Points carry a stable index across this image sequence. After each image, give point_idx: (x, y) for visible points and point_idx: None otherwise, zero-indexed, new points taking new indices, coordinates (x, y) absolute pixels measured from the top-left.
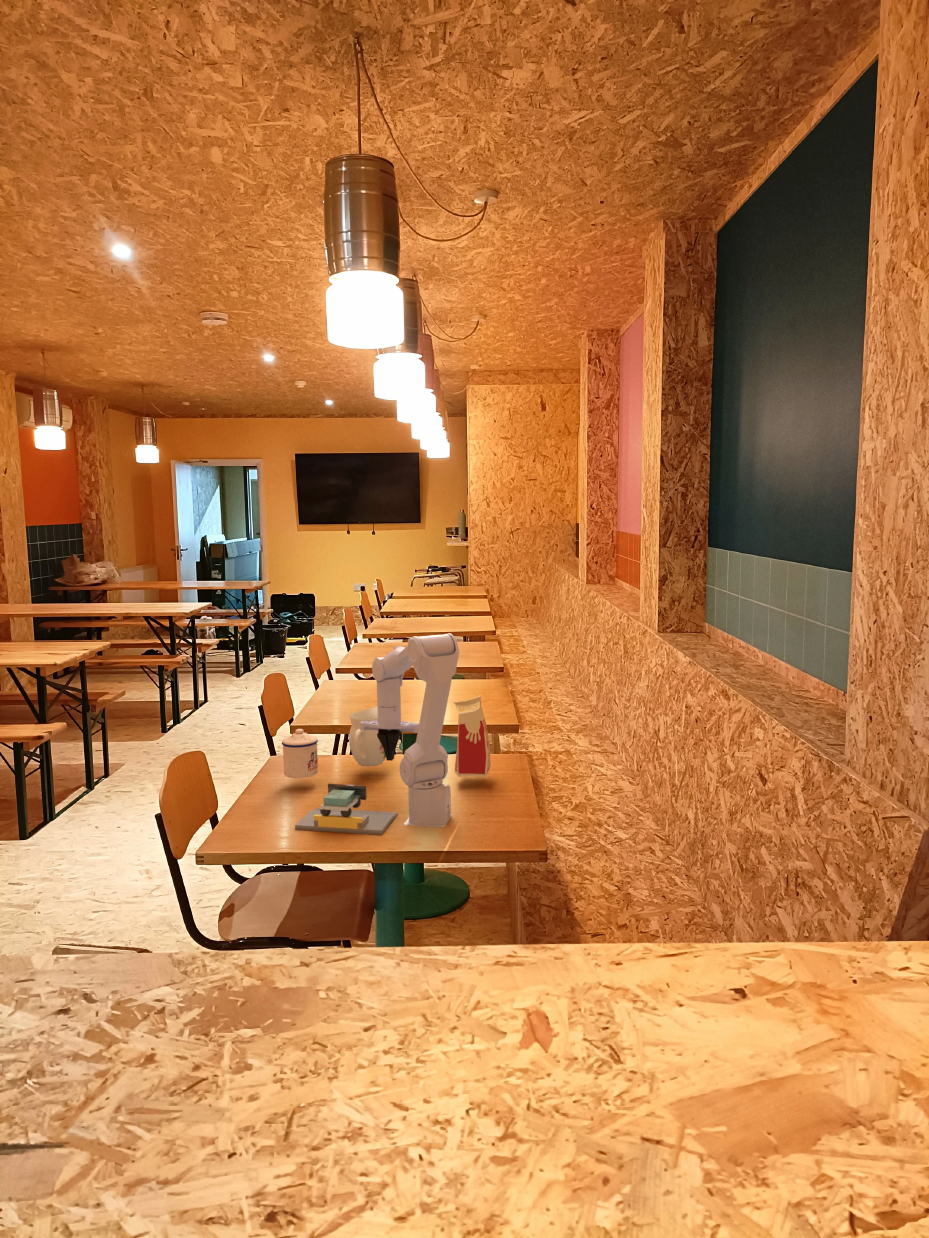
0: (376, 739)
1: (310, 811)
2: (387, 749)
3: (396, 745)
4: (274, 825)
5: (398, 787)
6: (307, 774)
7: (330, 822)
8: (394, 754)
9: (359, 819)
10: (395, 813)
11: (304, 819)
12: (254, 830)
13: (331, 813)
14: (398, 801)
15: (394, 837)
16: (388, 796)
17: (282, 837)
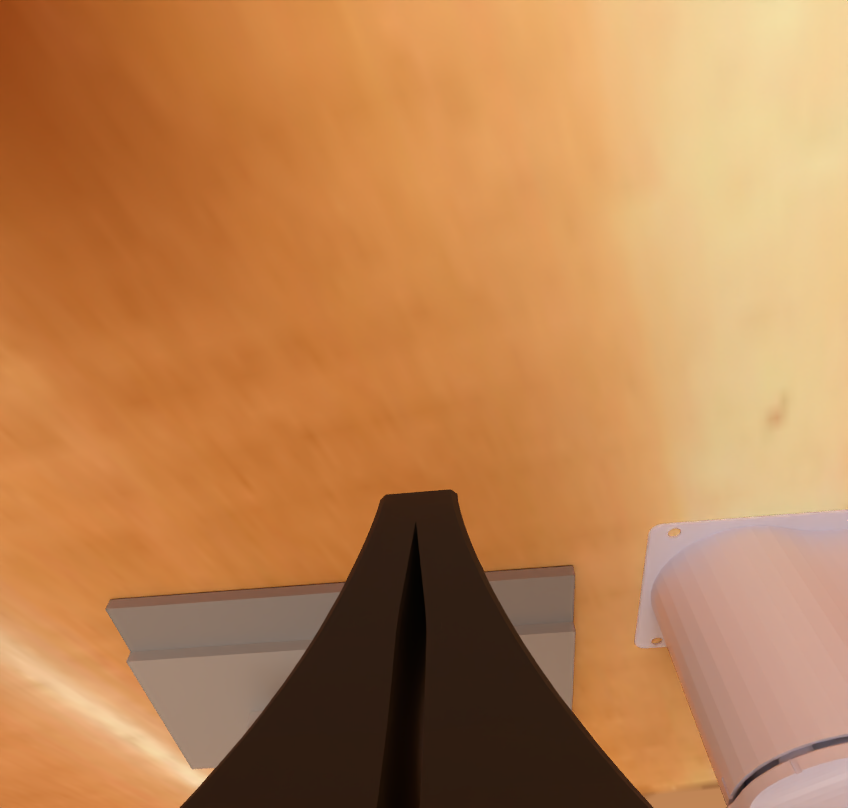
0: None
1: (137, 672)
2: (423, 733)
3: (507, 624)
4: (87, 739)
5: (390, 67)
6: None
7: None
8: (462, 521)
9: None
10: (567, 586)
11: (185, 732)
12: (59, 775)
13: (254, 671)
14: (513, 393)
15: (624, 732)
16: (402, 320)
17: None
